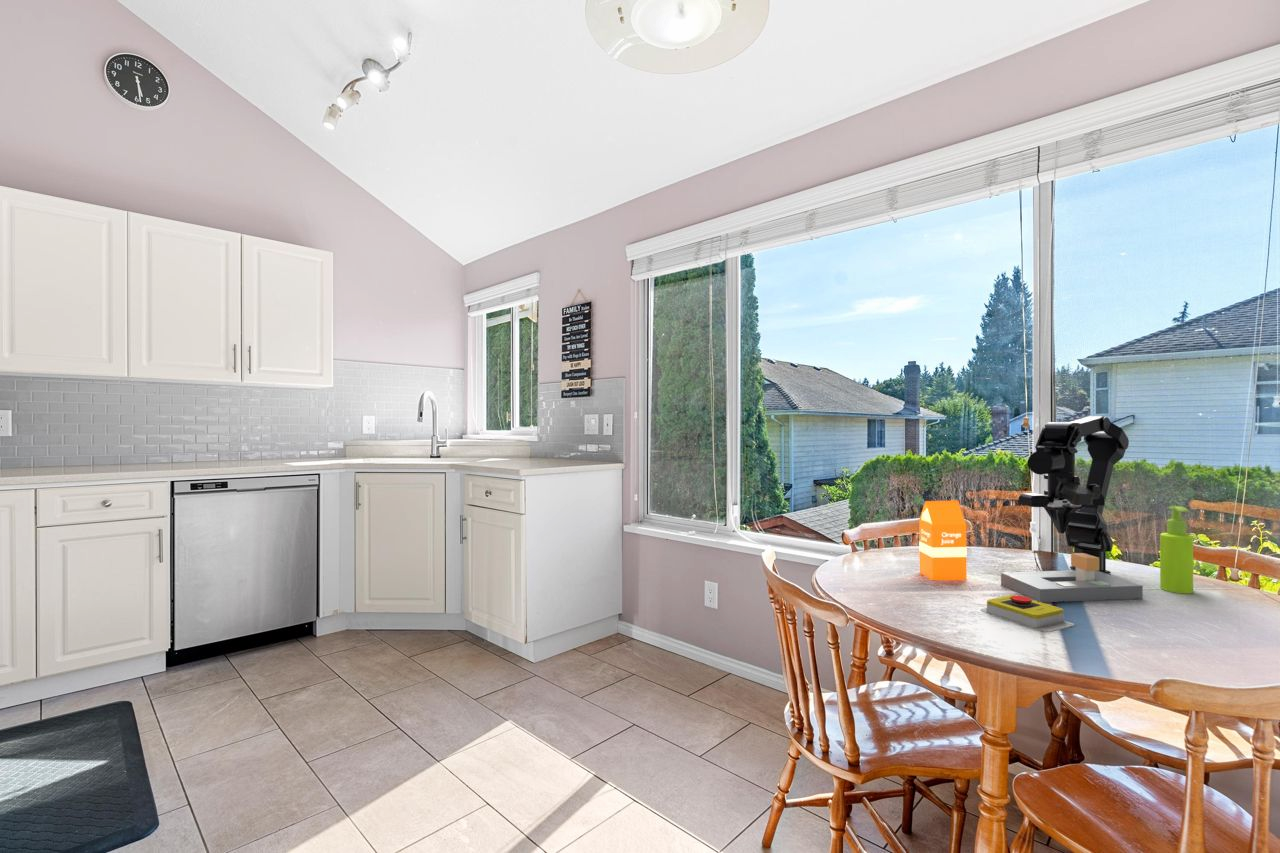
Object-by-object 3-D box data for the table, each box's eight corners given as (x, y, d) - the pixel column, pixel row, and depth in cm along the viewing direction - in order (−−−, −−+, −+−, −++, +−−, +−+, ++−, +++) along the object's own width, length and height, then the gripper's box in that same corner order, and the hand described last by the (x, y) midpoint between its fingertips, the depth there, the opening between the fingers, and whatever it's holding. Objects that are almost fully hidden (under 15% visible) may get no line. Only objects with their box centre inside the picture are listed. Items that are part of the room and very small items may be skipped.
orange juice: (967, 580, 156) (966, 502, 156) (932, 580, 156) (931, 503, 156) (951, 571, 164) (951, 498, 164) (919, 572, 164) (918, 498, 164)
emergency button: (1007, 587, 137) (1077, 606, 123) (1007, 606, 137) (1077, 627, 123) (978, 592, 133) (1046, 613, 120) (978, 612, 133) (1046, 635, 120)
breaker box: (1094, 581, 153) (1094, 568, 152) (1142, 598, 139) (1142, 584, 139) (1001, 584, 152) (1000, 571, 152) (1040, 602, 138) (1039, 588, 138)
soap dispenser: (1168, 593, 142) (1168, 508, 141) (1155, 585, 148) (1156, 503, 148) (1200, 595, 140) (1200, 509, 139) (1186, 587, 146) (1186, 504, 146)
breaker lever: (1083, 582, 148) (1083, 552, 148) (1099, 588, 143) (1099, 557, 143) (1071, 582, 148) (1071, 553, 148) (1087, 588, 143) (1086, 558, 143)
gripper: (1047, 476, 145) (1047, 541, 146) (1123, 474, 146) (1123, 538, 146) (1017, 471, 156) (1017, 531, 157) (1087, 469, 157) (1087, 529, 157)
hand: (1061, 533), depth 154 cm, fingers closed
